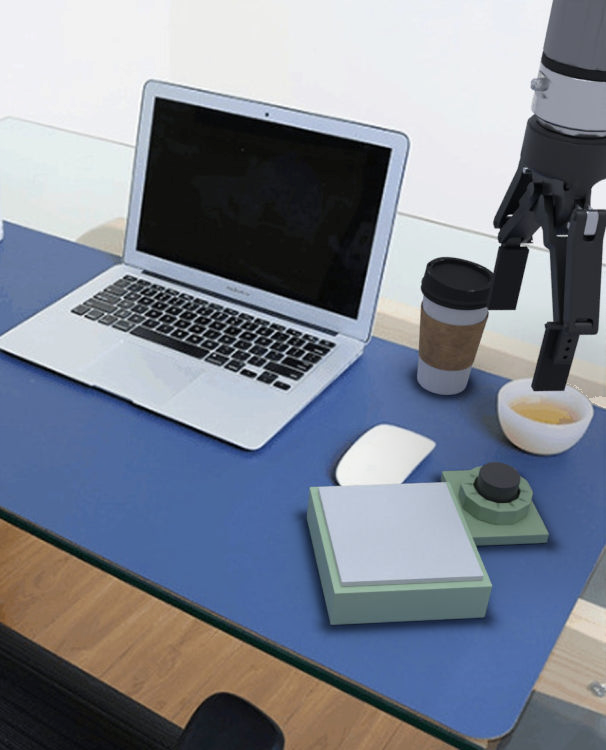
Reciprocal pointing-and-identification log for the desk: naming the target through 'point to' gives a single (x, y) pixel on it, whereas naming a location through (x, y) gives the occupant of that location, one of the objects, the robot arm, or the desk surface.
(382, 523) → the scale
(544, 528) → the panel
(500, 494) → the tare button
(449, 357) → the coffee cup
